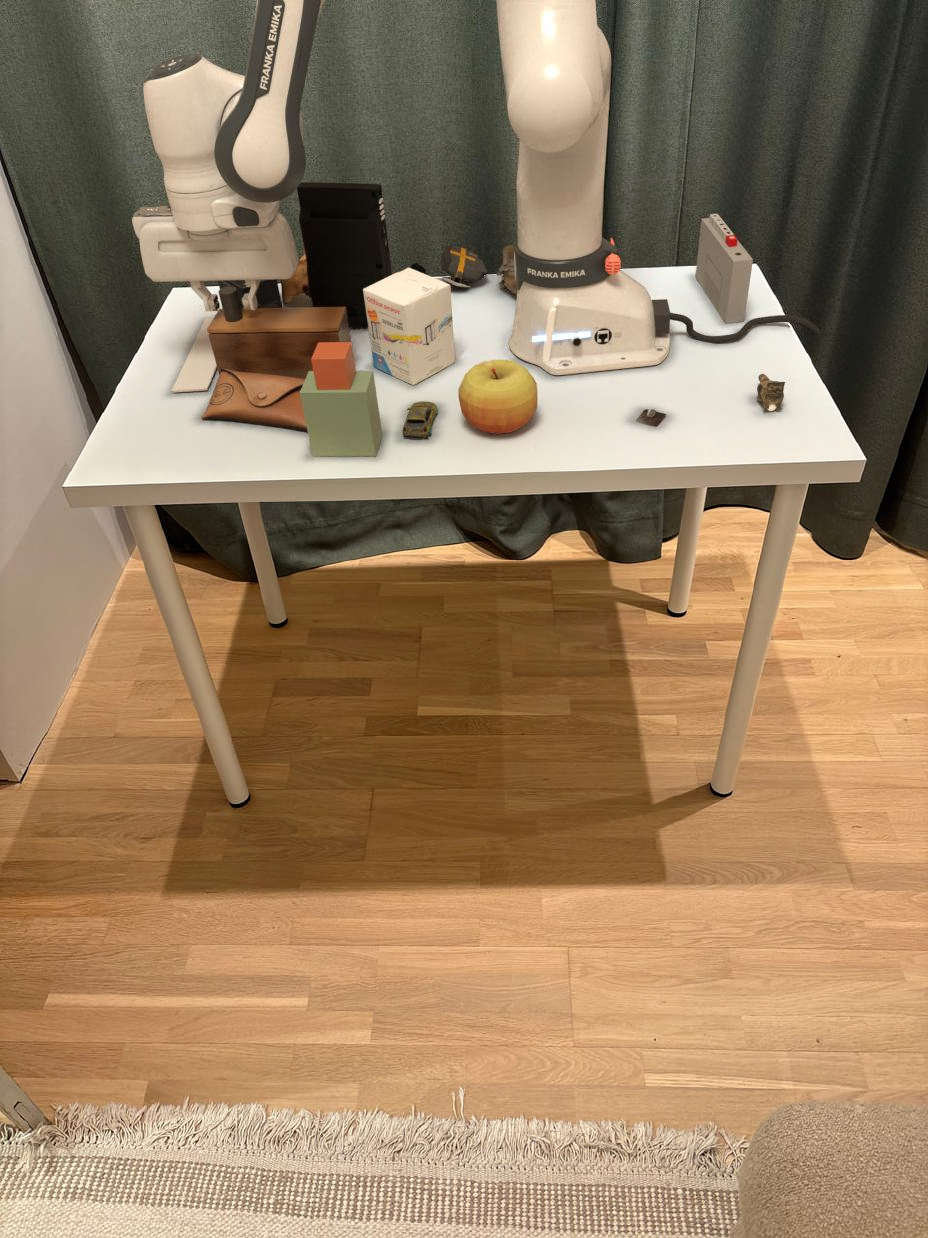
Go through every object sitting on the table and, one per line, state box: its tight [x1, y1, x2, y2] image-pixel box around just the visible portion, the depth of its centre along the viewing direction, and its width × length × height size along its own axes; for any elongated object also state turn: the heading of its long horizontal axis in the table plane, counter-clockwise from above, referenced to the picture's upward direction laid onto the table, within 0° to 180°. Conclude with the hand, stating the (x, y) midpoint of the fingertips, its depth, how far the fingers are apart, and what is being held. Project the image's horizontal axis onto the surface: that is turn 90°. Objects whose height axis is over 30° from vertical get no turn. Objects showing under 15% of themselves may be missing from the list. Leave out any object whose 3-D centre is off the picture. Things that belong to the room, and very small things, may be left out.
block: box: [311, 341, 357, 390], centre depth 113 cm, size 4×4×4 cm
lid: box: [207, 286, 346, 333], centre depth 129 cm, size 18×6×5 cm, turn 84°
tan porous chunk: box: [280, 244, 311, 305], centre depth 149 cm, size 12×10×8 cm
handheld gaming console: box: [296, 181, 393, 330], centre depth 137 cm, size 12×5×20 cm, turn 76°
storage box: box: [208, 312, 352, 379], centre depth 133 cm, size 18×6×7 cm, turn 84°
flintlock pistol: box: [495, 244, 517, 296], centre depth 150 cm, size 19×4×10 cm
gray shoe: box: [439, 245, 489, 288], centre depth 153 cm, size 7×15×4 cm, turn 176°
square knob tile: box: [635, 408, 667, 428], centre depth 120 cm, size 3×3×1 cm
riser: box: [300, 370, 383, 457], centre depth 117 cm, size 8×5×9 cm, turn 84°
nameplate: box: [171, 317, 218, 393], centre depth 140 cm, size 22×1×5 cm
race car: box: [402, 400, 439, 440], centre depth 122 cm, size 4×8×2 cm, turn 172°
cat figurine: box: [756, 373, 786, 412], centre depth 120 cm, size 3×8×4 cm, turn 0°
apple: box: [458, 359, 539, 435], centre depth 119 cm, size 10×10×8 cm
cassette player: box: [694, 213, 754, 324], centre depth 139 cm, size 16×3×10 cm, turn 6°
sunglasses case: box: [200, 369, 308, 432], centre depth 126 cm, size 18×7×7 cm
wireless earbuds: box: [398, 262, 430, 276], centre depth 153 cm, size 7×2×5 cm
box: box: [217, 279, 284, 308], centre depth 138 cm, size 8×6×11 cm
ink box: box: [363, 267, 456, 386], centre depth 130 cm, size 9×8×12 cm
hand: (232, 309), depth 130 cm, fingers open, 4 cm apart
